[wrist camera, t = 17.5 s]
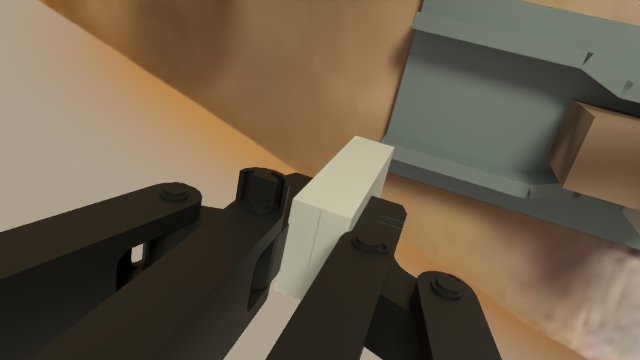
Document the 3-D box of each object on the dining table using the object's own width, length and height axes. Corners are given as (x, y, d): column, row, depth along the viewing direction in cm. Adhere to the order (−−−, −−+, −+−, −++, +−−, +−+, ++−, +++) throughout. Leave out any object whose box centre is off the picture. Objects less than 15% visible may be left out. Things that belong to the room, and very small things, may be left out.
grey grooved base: (430, -18, 36) (415, -31, 27) (771, 55, 31) (902, 72, 22) (379, 164, 42) (352, 207, 33) (657, 250, 38) (720, 329, 28)
